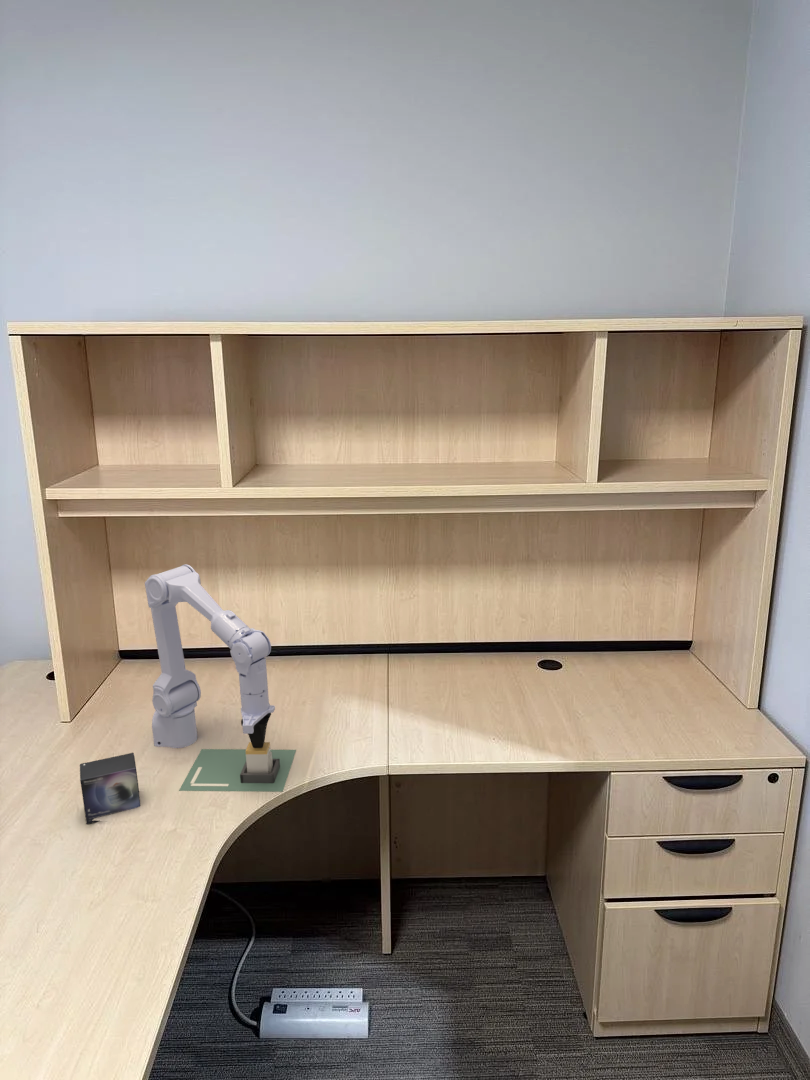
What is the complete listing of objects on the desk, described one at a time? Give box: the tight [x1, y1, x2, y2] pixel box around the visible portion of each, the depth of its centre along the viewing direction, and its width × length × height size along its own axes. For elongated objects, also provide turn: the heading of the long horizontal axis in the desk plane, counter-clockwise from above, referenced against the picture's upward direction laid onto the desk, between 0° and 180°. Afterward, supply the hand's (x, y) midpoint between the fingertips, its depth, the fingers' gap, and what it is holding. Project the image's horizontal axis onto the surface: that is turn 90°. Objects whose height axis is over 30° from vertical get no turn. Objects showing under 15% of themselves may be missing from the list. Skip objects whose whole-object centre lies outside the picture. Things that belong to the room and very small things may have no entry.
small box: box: [79, 752, 141, 825], centre depth 150 cm, size 11×6×10 cm, turn 114°
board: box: [178, 748, 297, 793], centre depth 162 cm, size 22×16×3 cm
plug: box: [246, 741, 273, 773], centre depth 160 cm, size 5×4×7 cm
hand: (258, 746), depth 159 cm, fingers closed
